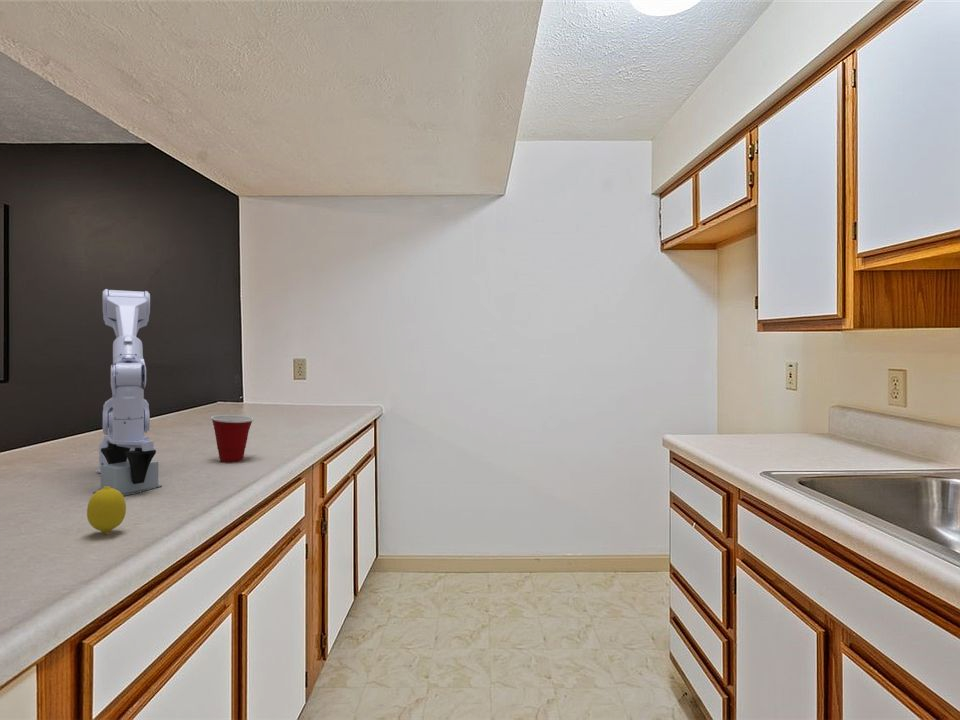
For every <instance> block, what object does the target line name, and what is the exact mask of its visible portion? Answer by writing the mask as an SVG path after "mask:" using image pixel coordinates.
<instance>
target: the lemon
mask: <svg viewBox="0 0 960 720" xmlns="http://www.w3.org/2000/svg"><path fill="white" fill-rule="evenodd" d="M96 491H97V492H96ZM96 491H95V492H96V493H93V495H91V497H90V498H89V501H88V505H87V509H86V518H87V520H88V523H89V525H90V526H91V527H92V528H93V529H95V530H97V531H101V532H102V533H103V534H105V535H107V534H109V533H110V532H111V531H112V530H113V529H116V528H117V527H119V526H120V525H121V524H122V522H123V521H124V519H125V516H126V513H127V504H126V500H125V496H123V495H122V494H121V492H119V491H118V490H116V489H113V488H110V487H109V486H105V487H104V488H103V489H101V488H100V489H99V490H96Z"/></svg>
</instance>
